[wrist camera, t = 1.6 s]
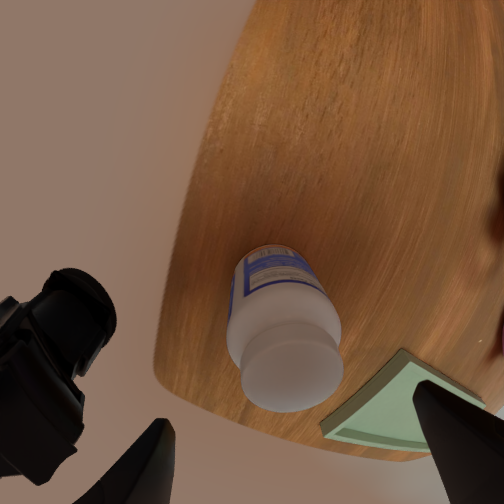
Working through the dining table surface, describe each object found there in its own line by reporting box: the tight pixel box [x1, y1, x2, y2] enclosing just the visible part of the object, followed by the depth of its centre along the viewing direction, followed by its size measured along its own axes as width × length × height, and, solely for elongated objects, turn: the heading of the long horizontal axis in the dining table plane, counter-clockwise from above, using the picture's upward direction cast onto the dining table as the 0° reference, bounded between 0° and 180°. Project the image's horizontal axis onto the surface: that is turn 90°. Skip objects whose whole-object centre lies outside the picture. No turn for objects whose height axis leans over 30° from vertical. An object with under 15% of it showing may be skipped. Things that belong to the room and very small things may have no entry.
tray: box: [320, 349, 486, 452], centre depth 25 cm, size 28×12×2 cm, turn 56°
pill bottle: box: [226, 244, 344, 412], centre depth 14 cm, size 5×5×10 cm
